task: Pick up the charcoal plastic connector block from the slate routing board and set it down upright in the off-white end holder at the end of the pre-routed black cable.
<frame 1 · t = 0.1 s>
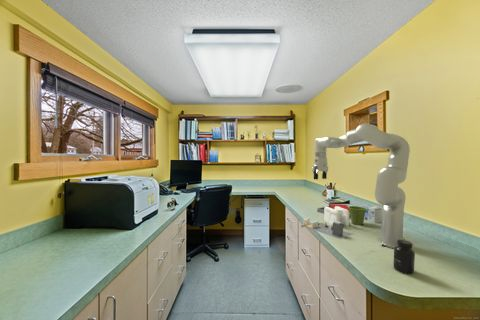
hand: (320, 179, 149), 31 cm above the counter, fingers open, 9 cm apart
plant pot: (357, 223, 148), on the counter
light bulb box: (371, 220, 156), on the counter
connector: (337, 235, 122), point 1 cm above the counter, touching routing board
routing board: (325, 231, 131), on the counter
supplement bottle: (403, 270, 86), on the counter
red device housing: (339, 212, 177), resting on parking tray
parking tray: (339, 212, 177), on the counter
cable organizer: (336, 225, 144), on the counter
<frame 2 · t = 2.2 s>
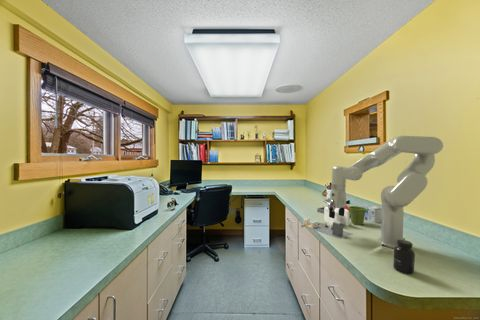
hand: (336, 216, 122), 12 cm above the counter, fingers open, 9 cm apart
nothing on the counter moved.
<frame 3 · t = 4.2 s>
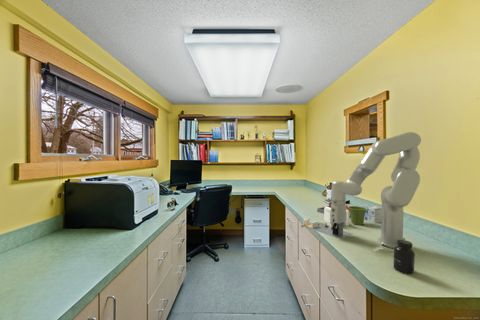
hand: (337, 233, 122), 2 cm above the counter, fingers closed on connector, 4 cm apart
connector: (337, 235, 122), point 1 cm above the counter, touching gripper, routing board
everything else where it was.
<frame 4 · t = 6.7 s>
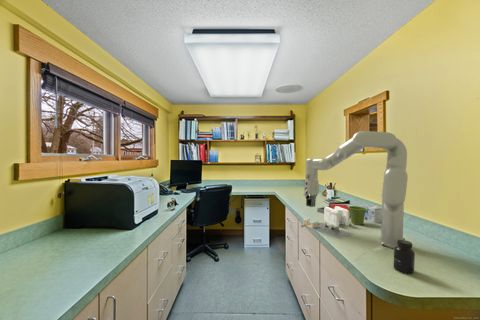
hand: (310, 204, 137), 15 cm above the counter, fingers closed on connector, 4 cm apart
connector: (310, 206, 137), point 14 cm above the counter, touching gripper
everything else where it was.
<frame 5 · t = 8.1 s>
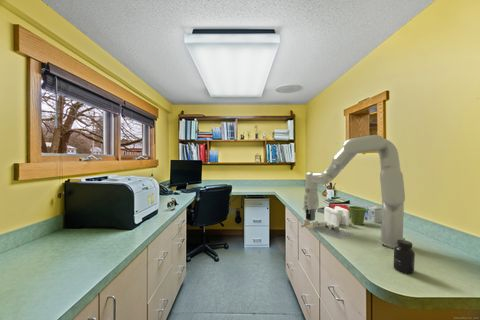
hand: (310, 218, 137), 6 cm above the counter, fingers closed on connector, 4 cm apart
connector: (310, 219, 137), point 5 cm above the counter, touching gripper
everything else where it was.
when the fingers open (4 cm above the counter, at t = 9.4 s): connector drops 1 cm, resting on routing board.
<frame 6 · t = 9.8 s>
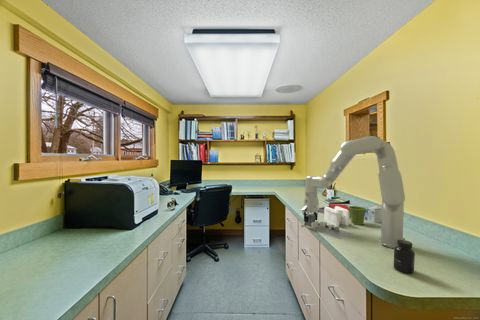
hand: (310, 220, 137), 5 cm above the counter, fingers open, 8 cm apart
connector: (310, 225, 137), point 1 cm above the counter, touching routing board
everything else where it was.
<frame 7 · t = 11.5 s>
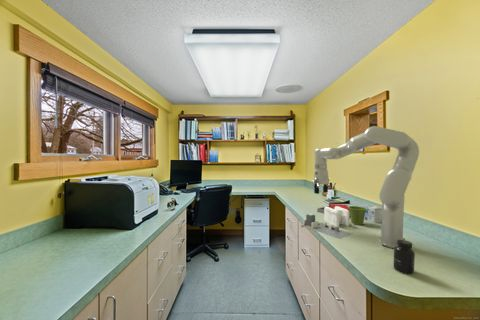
hand: (321, 192, 138), 23 cm above the counter, fingers open, 9 cm apart
nothing on the counter moved.
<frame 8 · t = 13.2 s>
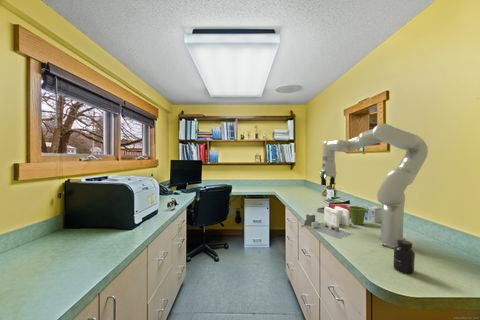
hand: (328, 184, 140), 28 cm above the counter, fingers open, 9 cm apart
nothing on the counter moved.
at the end: connector 0.0 cm from the target spot on the routing board, point 1.4 cm above the routing board's base; connector tilted 0°; the gripper is holding nothing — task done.
